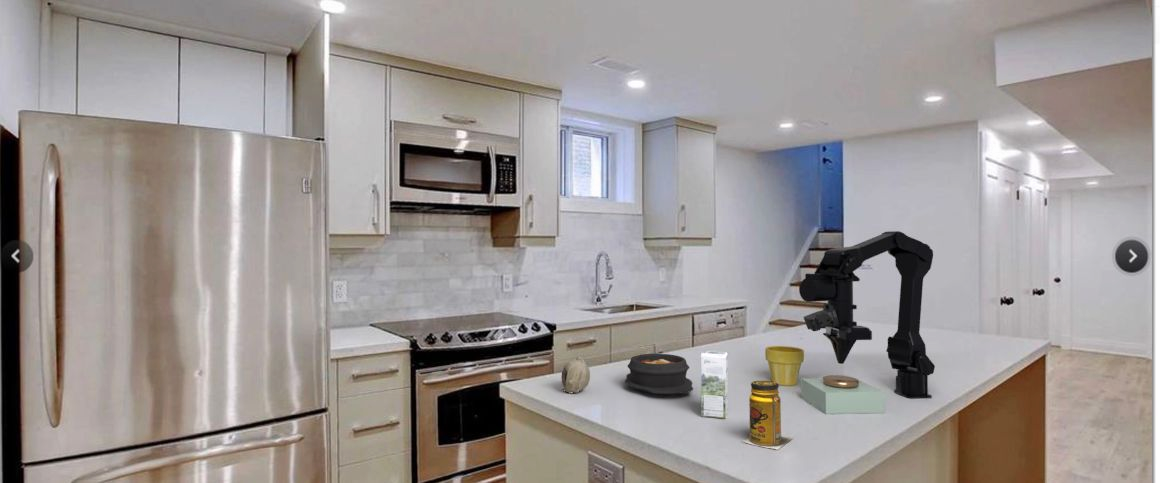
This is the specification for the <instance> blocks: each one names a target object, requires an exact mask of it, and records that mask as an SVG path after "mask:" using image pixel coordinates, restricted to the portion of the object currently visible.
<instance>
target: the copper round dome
mask: <svg viewBox="0 0 1160 483" xmlns="http://www.w3.org/2000/svg"><path fill="white" fill-rule="evenodd" d="M822 378H823V383H824V384H826V385H828V386H833V387H839V388H855V387H858V386H859V380H860V379H858V378H856V377H854V376H853V377H852V376H847V375H846V376H845V375H839V374H838V375H836V374H835V375H834V374H831V375H824V376H823V377H822Z"/></svg>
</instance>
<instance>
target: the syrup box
mask: <svg viewBox="0 0 1160 483" xmlns="http://www.w3.org/2000/svg"><path fill="white" fill-rule="evenodd" d="M728 357H729V356H728V352H726V351H725V352H724V351H710V350H709V351H708V350H703V351H702V352H701V354H700V396H701V397H700V400H701V401H700V405H701V406H700V409H701V410H700V411H701V413H700V414H701V417H702V418H703V417H704V418H711V419H712V418H713V419H727V417H728V416H727V415H728V412H729V403H728V400H729V398H728V397H729V396H728V394H729V393H728V392H729V391H728V390H729V389H728V382H729V380H728V378H729V377H728V376H729V375H728V374H729V373H728V369H729V368H728V365H729V364H728Z"/></svg>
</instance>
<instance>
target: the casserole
mask: <svg viewBox="0 0 1160 483" xmlns="http://www.w3.org/2000/svg"><path fill="white" fill-rule="evenodd" d="M627 368H628V369H629V371H630V373H628V374H626V378H625V380H624V383H625V385H627V386H629V387H631V388H634V389H637V390H639V391H641V392H644V391H645V393H649V392H650V394H655V395H656V394H657V395H677V394H685V393H689V392H693V390H694V387H693V386H692V385H693V382H692V380H691V379H690V378H688V377H686V376H687V372H688V370H689V369H690V366H689V364H688V363H687V360H686V358H685V357H683V356H680V355H676V354H668V353H643V354H637V355H634V356H632V357H631V358H630V362H629V363H628V364H627Z"/></svg>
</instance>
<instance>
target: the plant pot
mask: <svg viewBox="0 0 1160 483" xmlns="http://www.w3.org/2000/svg"><path fill="white" fill-rule="evenodd" d="M804 350H805V349H803V348H800V347H795V346H788V345H787V346H786V345H770V346H766V347H765V360H766V361H767V364H768V368H769V373H770V378H771V381H772V382H775V383H777V384H778V386H779V385H780V386H795V385H797V384H798V378H799V375H800V369H801V365H802V363H804V359H805V351H804Z"/></svg>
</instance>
